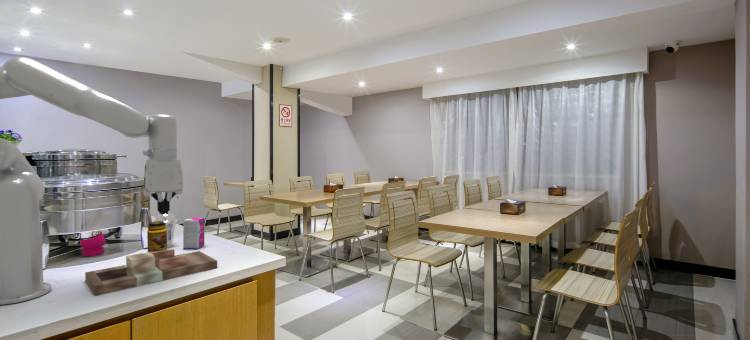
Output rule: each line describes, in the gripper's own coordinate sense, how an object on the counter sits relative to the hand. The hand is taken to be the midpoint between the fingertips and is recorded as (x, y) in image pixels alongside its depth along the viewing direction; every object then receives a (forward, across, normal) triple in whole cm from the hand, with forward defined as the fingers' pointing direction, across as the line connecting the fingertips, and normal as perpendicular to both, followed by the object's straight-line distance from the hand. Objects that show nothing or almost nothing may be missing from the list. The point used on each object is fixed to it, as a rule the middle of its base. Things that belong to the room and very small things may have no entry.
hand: (163, 213), depth 113 cm
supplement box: (+19, +17, +23) cm, 34 cm away
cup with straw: (+19, +10, +32) cm, 38 cm away
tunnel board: (+18, -3, 0) cm, 19 cm away
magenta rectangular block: (+19, -12, +38) cm, 45 cm away
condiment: (+19, +4, +22) cm, 30 cm away
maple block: (+16, -6, 0) cm, 17 cm away
